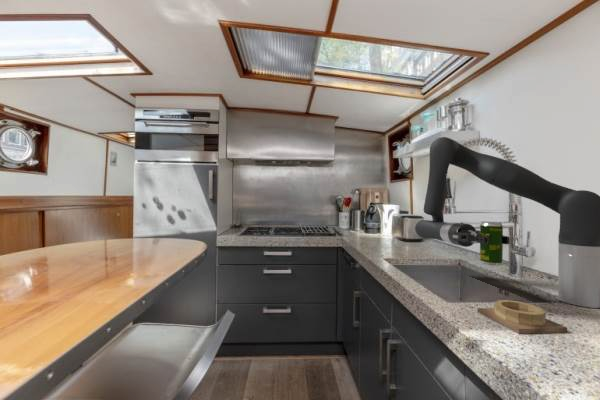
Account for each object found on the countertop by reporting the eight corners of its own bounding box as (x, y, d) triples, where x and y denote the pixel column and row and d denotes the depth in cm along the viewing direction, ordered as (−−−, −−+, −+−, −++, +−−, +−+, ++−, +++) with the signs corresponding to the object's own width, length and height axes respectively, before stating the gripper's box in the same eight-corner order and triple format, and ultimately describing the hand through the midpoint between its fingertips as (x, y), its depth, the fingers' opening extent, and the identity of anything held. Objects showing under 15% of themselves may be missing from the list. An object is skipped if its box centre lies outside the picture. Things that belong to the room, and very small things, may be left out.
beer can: (492, 261, 82) (492, 221, 82) (507, 265, 77) (507, 222, 77) (475, 261, 82) (475, 221, 82) (489, 265, 76) (490, 222, 76)
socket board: (518, 311, 73) (518, 298, 73) (567, 331, 61) (567, 316, 62) (477, 312, 72) (477, 298, 72) (518, 333, 60) (519, 317, 60)
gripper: (437, 222, 93) (475, 227, 76) (476, 223, 94) (522, 227, 78) (437, 244, 93) (475, 254, 76) (476, 244, 94) (521, 253, 77)
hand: (498, 240), depth 77 cm, fingers closed on beer can, 5 cm apart
